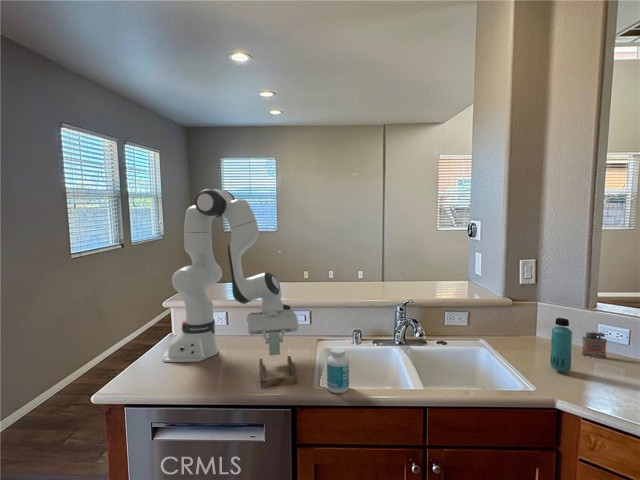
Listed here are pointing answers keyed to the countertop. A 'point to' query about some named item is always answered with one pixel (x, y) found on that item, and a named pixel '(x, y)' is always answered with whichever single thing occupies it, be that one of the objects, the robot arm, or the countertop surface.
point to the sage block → (274, 343)
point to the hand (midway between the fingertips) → (274, 342)
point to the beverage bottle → (561, 346)
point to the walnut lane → (278, 380)
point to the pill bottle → (338, 371)
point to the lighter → (594, 345)
